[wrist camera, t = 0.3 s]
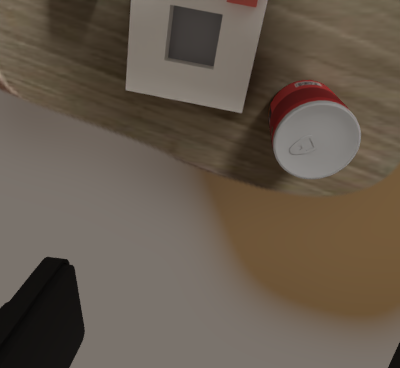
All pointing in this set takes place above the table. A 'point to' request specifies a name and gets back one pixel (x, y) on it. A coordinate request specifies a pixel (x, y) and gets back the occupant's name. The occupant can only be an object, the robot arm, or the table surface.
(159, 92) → the socket plate
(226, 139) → the table surface
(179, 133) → the table surface
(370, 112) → the table surface
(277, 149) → the canned food
